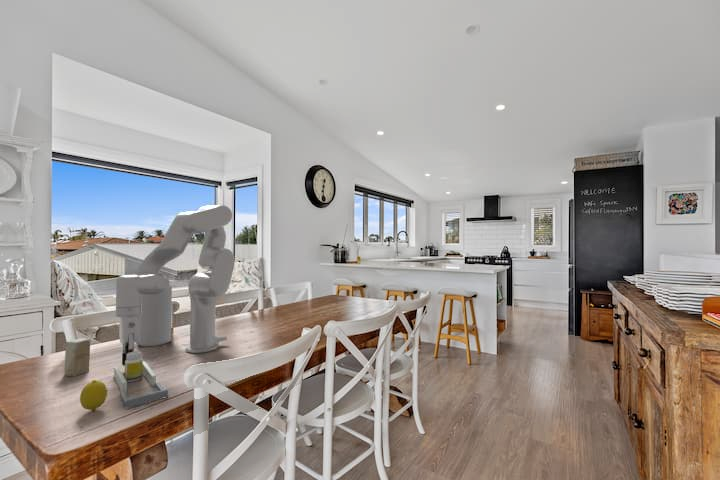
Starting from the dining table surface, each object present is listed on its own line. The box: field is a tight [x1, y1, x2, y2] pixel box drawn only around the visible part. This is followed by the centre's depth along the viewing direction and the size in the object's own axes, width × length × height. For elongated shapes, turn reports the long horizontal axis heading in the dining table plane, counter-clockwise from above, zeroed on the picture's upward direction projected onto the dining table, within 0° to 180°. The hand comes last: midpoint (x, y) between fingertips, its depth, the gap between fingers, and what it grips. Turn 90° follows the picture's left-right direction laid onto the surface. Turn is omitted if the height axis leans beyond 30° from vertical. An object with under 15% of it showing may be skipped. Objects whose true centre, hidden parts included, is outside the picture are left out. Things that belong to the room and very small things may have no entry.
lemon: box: [79, 379, 108, 412], centre depth 88 cm, size 6×6×8 cm
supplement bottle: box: [124, 350, 144, 383], centre depth 108 cm, size 5×5×8 cm
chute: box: [113, 360, 157, 394], centre depth 107 cm, size 8×17×3 cm, turn 43°
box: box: [63, 337, 91, 377], centre depth 112 cm, size 5×4×11 cm
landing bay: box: [119, 381, 169, 409], centre depth 96 cm, size 10×10×2 cm
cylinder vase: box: [137, 283, 173, 347], centre depth 147 cm, size 12×12×25 cm
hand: (127, 364), depth 115 cm, fingers closed
